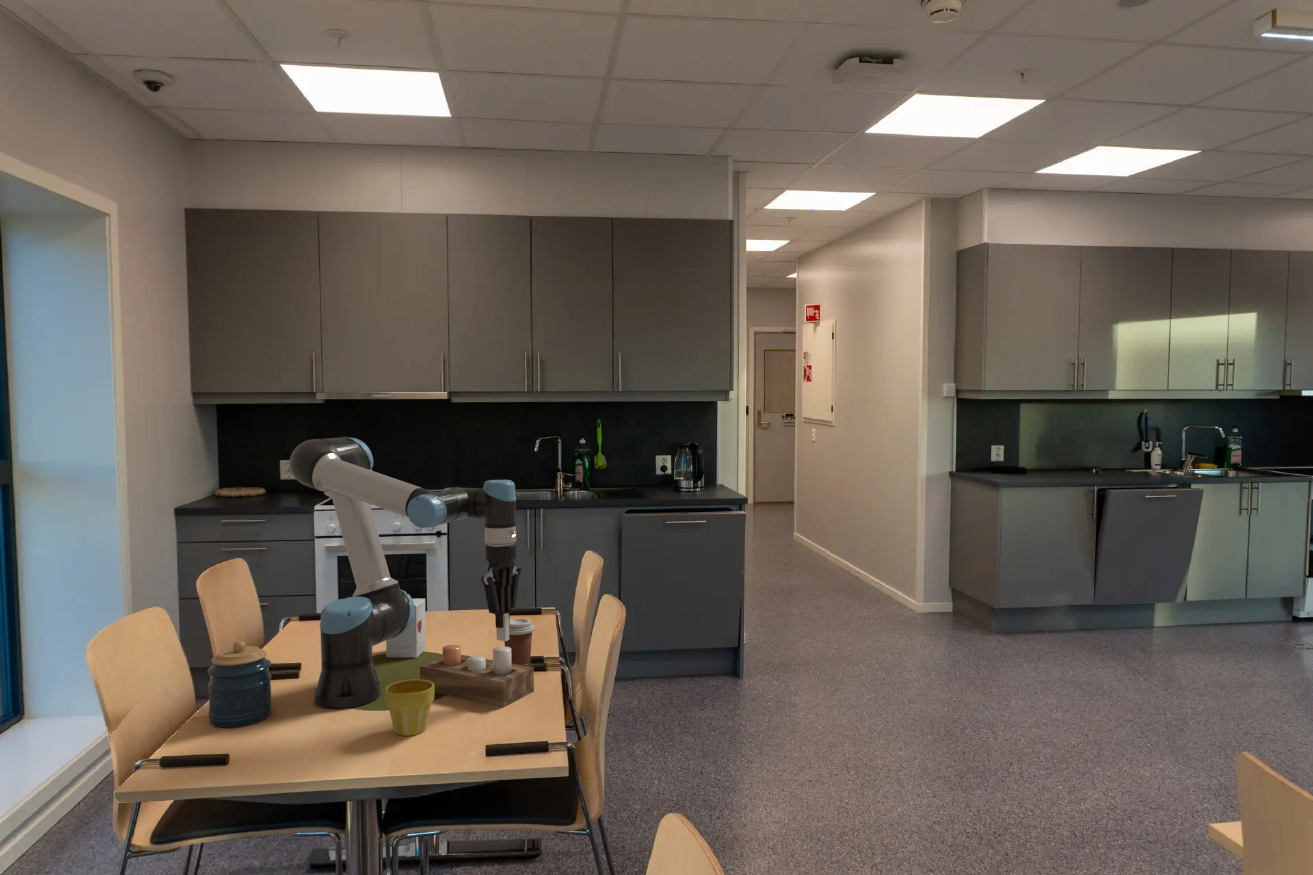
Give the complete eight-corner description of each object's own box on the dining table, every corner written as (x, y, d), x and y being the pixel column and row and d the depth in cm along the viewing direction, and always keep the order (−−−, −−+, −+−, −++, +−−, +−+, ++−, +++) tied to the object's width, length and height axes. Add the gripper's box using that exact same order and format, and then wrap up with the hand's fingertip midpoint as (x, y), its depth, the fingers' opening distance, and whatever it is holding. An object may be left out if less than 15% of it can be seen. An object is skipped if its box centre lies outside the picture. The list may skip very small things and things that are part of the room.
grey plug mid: (478, 690, 201) (477, 662, 200) (464, 687, 203) (463, 659, 202) (489, 684, 205) (489, 657, 204) (475, 681, 207) (475, 654, 206)
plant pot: (416, 717, 186) (416, 675, 186) (444, 728, 180) (443, 684, 179) (376, 731, 178) (375, 687, 178) (403, 743, 172) (402, 697, 172)
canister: (274, 703, 195) (272, 630, 194) (270, 723, 183) (268, 645, 182) (213, 711, 190) (211, 636, 190) (204, 732, 178) (202, 652, 178)
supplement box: (417, 658, 230) (416, 605, 229) (385, 658, 230) (384, 605, 229) (427, 648, 239) (426, 597, 238) (396, 648, 239) (395, 597, 238)
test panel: (503, 707, 192) (503, 681, 192) (420, 689, 204) (419, 666, 204) (533, 691, 203) (533, 667, 203) (452, 675, 215) (452, 652, 215)
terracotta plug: (452, 678, 204) (452, 650, 204) (439, 675, 206) (438, 648, 206) (464, 673, 208) (464, 646, 208) (451, 670, 210) (450, 643, 210)
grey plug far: (504, 681, 197) (503, 652, 197) (489, 678, 199) (489, 650, 199) (515, 676, 201) (514, 647, 200) (500, 673, 203) (500, 645, 202)
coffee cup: (538, 659, 228) (538, 617, 227) (530, 670, 219) (530, 626, 218) (506, 658, 229) (506, 616, 228) (497, 669, 220) (496, 625, 219)
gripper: (496, 549, 191) (498, 648, 192) (529, 540, 202) (531, 634, 203) (471, 547, 194) (473, 645, 195) (505, 538, 206) (507, 631, 207)
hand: (503, 639), depth 199 cm, fingers closed
